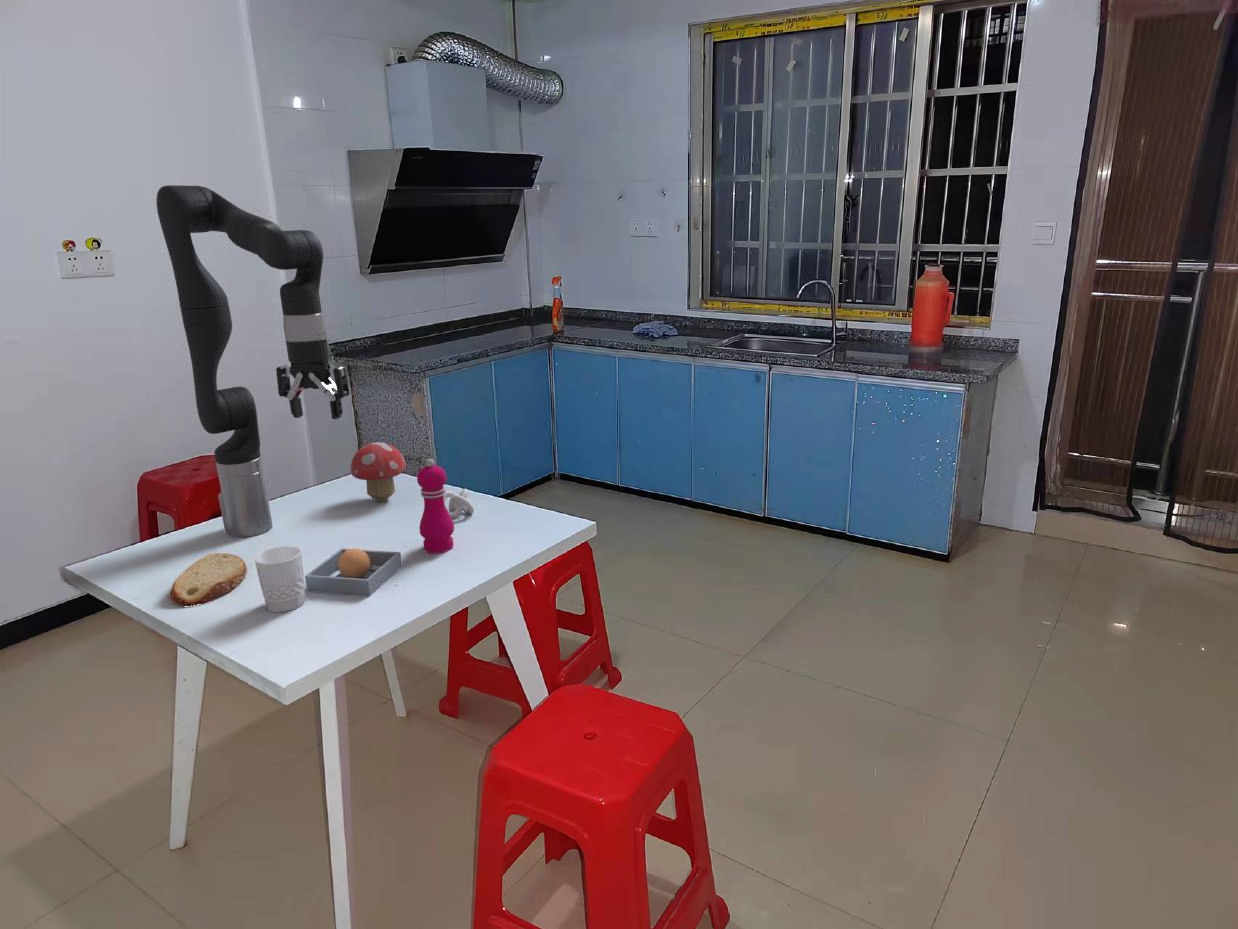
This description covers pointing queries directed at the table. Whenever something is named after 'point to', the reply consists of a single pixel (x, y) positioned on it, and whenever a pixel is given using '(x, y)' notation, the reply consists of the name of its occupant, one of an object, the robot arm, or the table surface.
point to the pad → (363, 576)
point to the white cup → (281, 578)
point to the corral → (353, 586)
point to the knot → (458, 503)
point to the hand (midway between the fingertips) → (317, 417)
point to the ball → (354, 563)
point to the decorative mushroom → (378, 468)
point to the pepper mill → (434, 510)
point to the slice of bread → (208, 579)
